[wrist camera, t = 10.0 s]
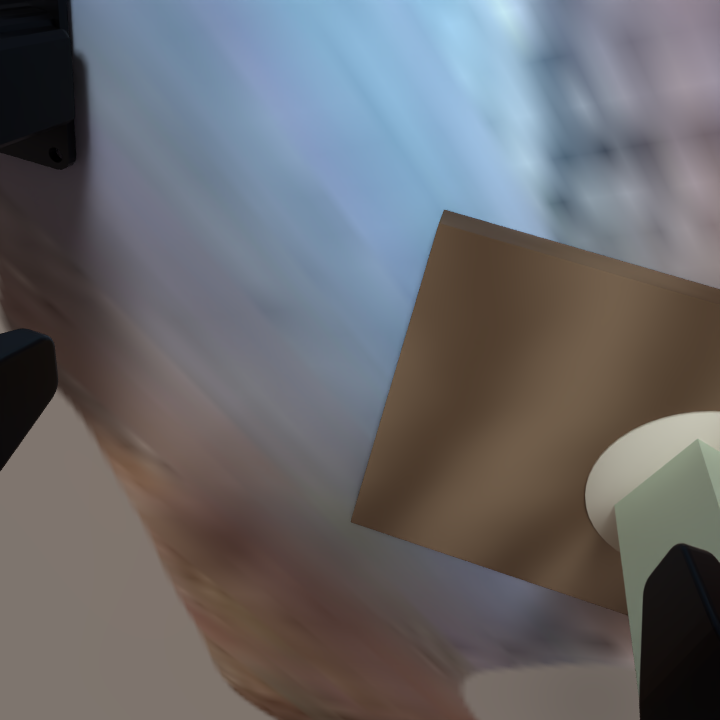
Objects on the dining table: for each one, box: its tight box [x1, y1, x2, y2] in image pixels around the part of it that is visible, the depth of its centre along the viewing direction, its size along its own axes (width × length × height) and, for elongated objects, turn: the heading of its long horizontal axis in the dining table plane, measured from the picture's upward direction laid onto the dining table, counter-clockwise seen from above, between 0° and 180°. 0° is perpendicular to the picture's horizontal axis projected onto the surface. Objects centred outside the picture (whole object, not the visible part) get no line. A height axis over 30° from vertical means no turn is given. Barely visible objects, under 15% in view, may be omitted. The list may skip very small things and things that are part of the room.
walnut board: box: [351, 210, 720, 615], centre depth 22 cm, size 16×14×3 cm
